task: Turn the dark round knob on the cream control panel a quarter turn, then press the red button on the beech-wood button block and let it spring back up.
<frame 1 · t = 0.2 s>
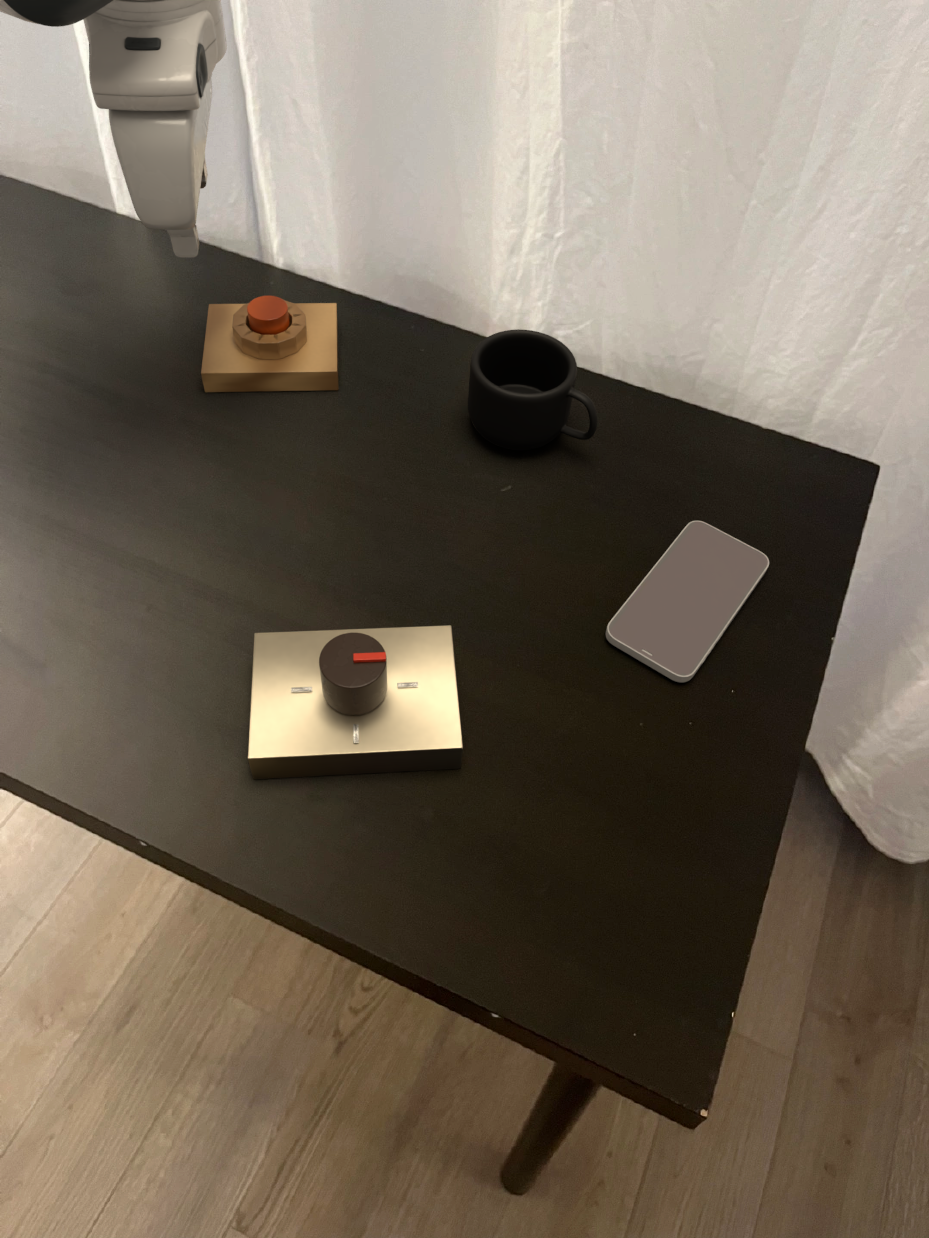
hand: (192, 217, 74), 16 cm above the table, tool pointing down, fingers open, 8 cm apart
red button: (268, 315, 86), point 4 cm above the table, slide at 0.1 cm
dial knob: (353, 672, 64), point 5 cm above the table, hinge at 0.0°
dial panel: (356, 710, 68), on the table
mug: (530, 433, 86), on the table
smartphone: (687, 602, 75), on the table
button block: (273, 356, 90), on the table
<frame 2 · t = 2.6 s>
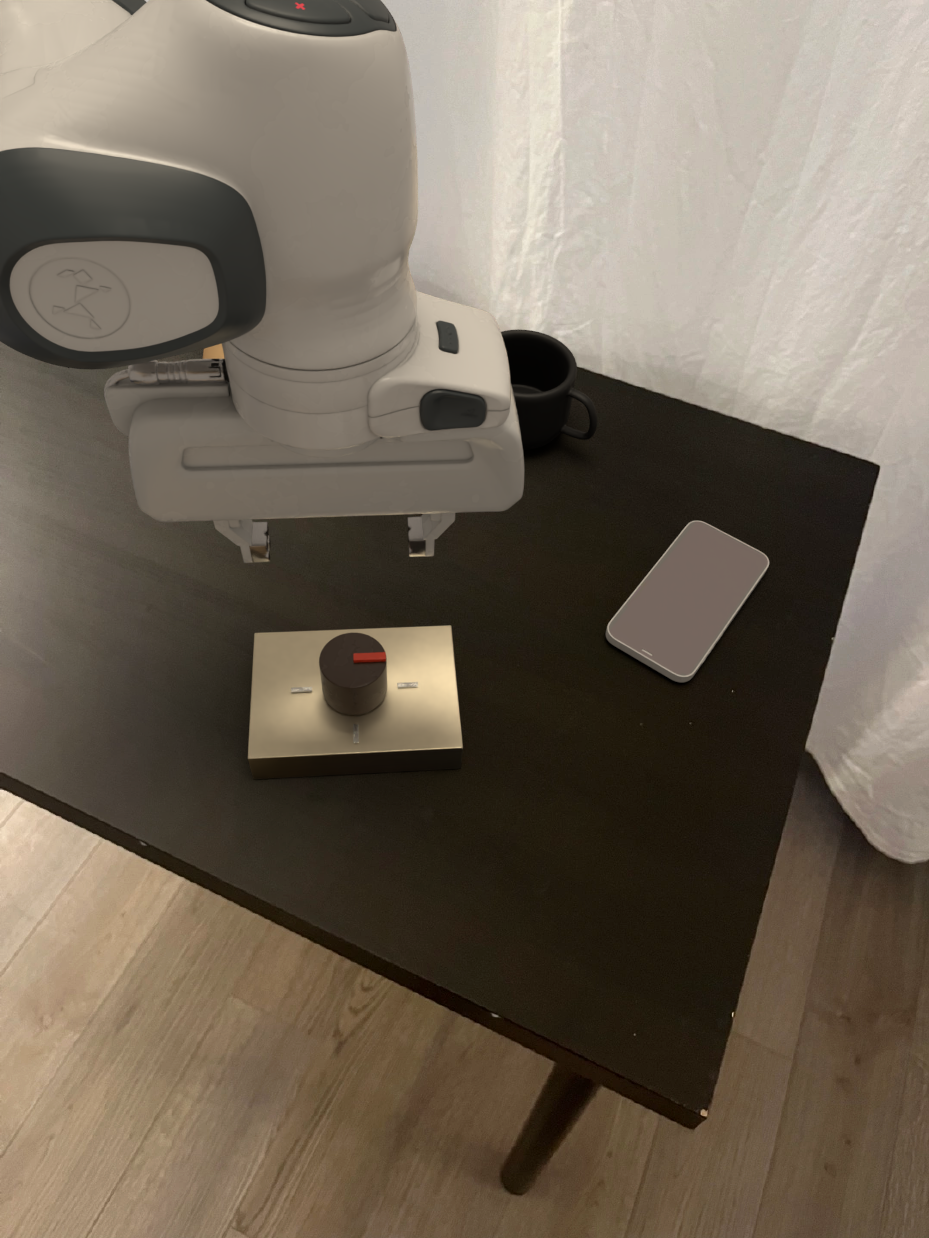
hand: (339, 551, 56), 16 cm above the table, tool pointing down, fingers open, 8 cm apart
nothing on the table moved.
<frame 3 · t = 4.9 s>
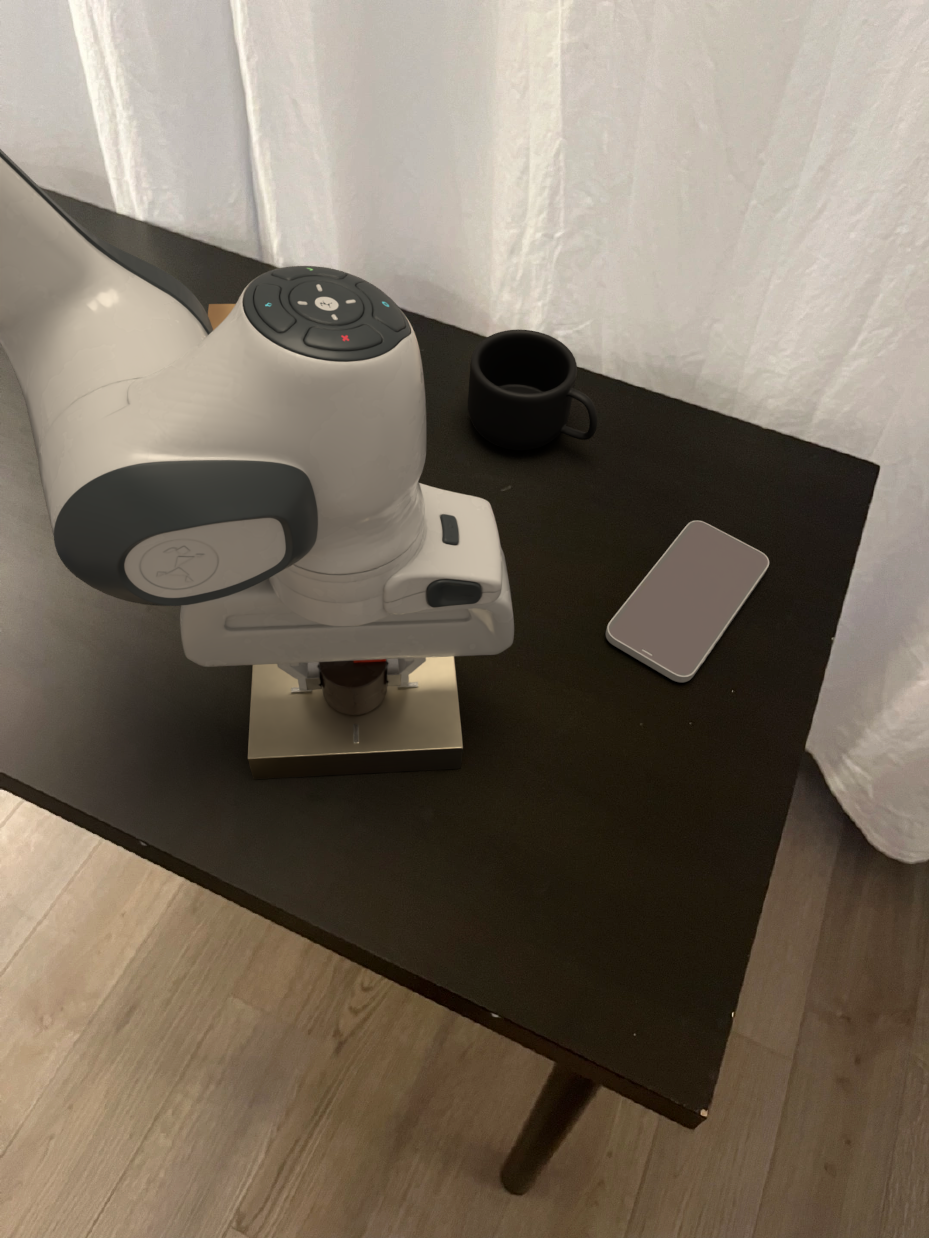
hand: (354, 679, 64), 4 cm above the table, tool pointing down, fingers closed on dial knob, 4 cm apart
dial knob: (353, 672, 64), point 5 cm above the table, hinge at 0.2°, touching gripper
everything else where it was.
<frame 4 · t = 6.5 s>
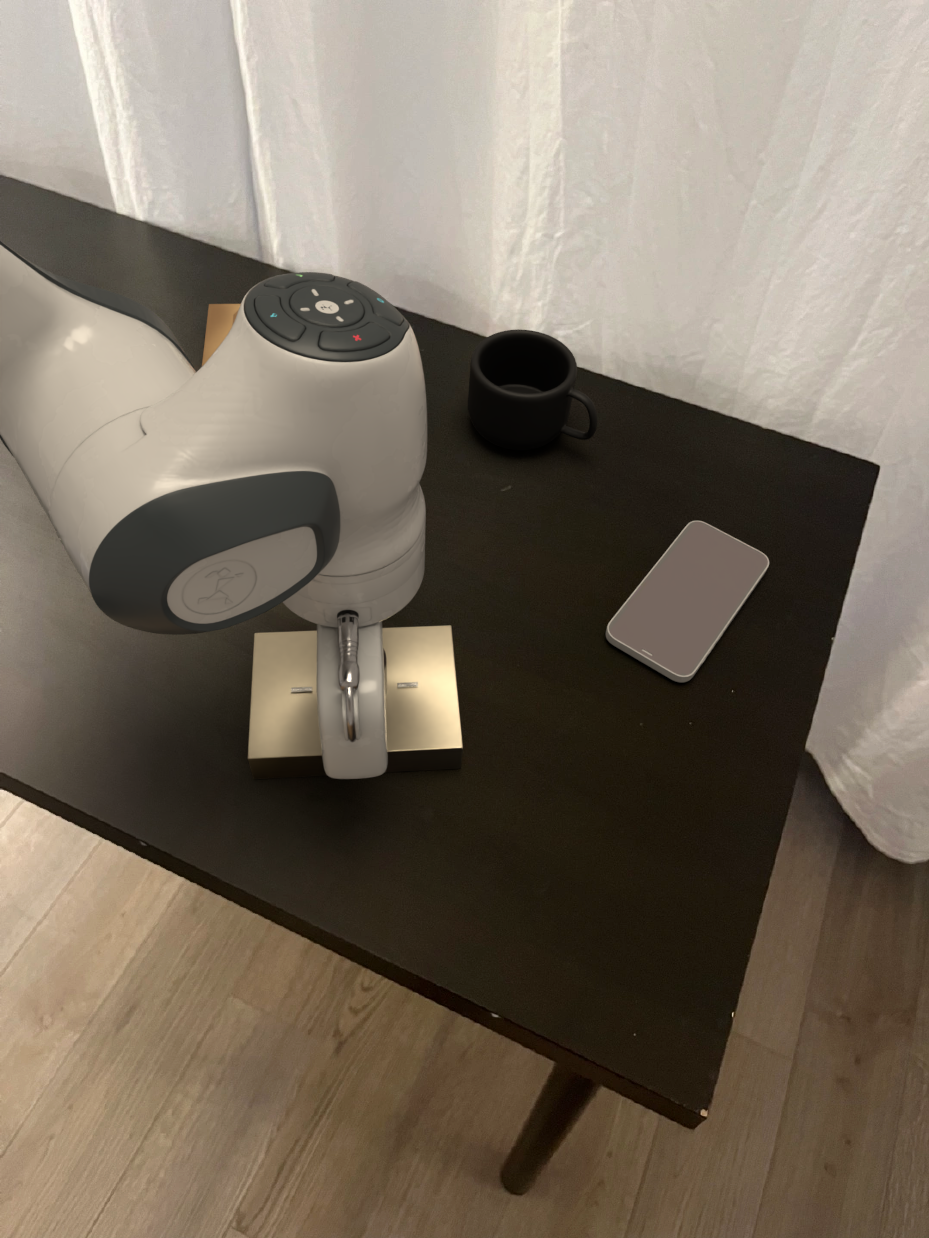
hand: (357, 680, 65), 4 cm above the table, tool pointing down, fingers closed on dial knob, 4 cm apart
dial knob: (353, 672, 64), point 5 cm above the table, hinge at 90.6°, touching gripper
everything else where it was.
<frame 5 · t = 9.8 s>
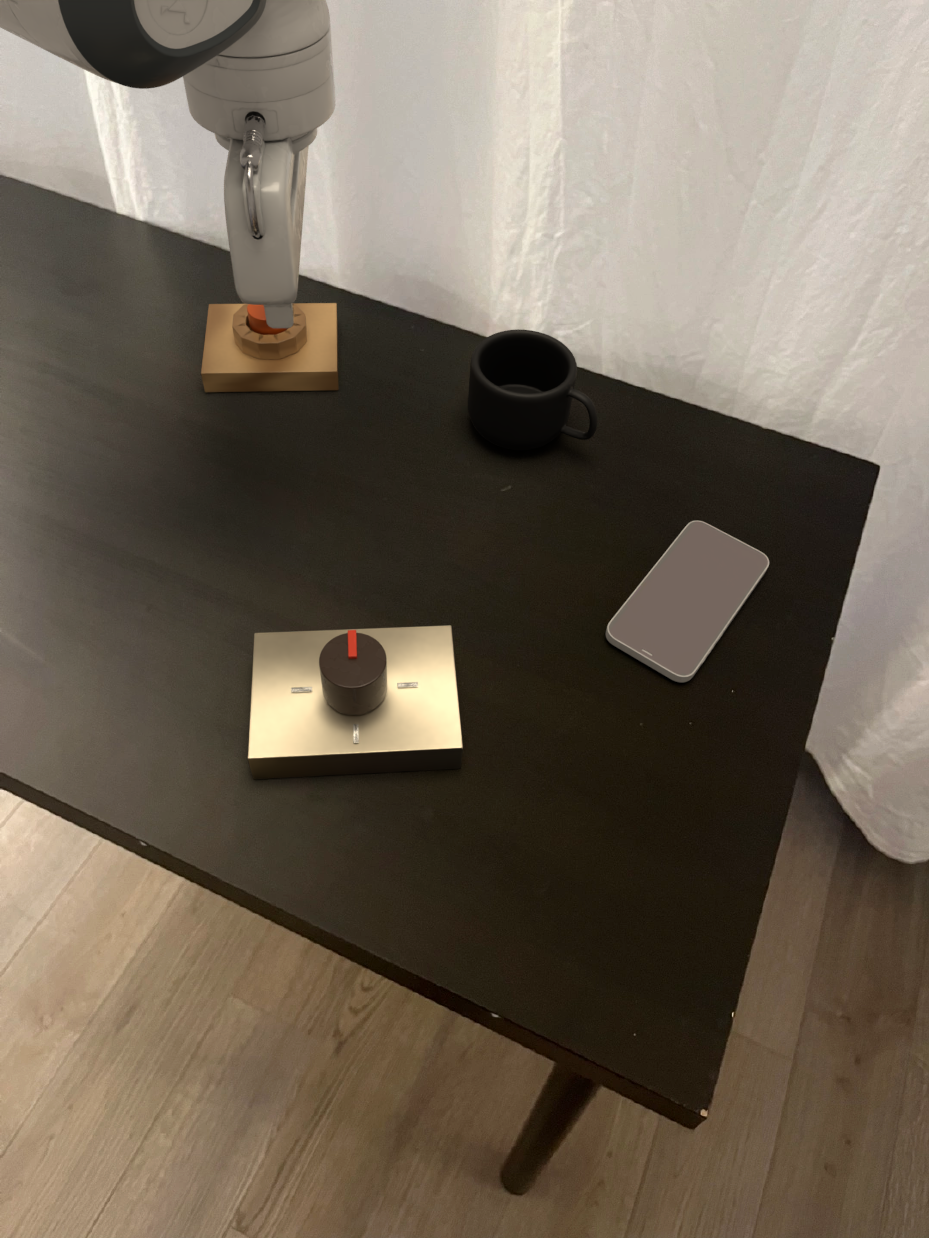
hand: (285, 280, 68), 18 cm above the table, tool pointing down, fingers open, 8 cm apart
dial knob: (353, 672, 64), point 5 cm above the table, hinge at 90.3°
everything else where it was.
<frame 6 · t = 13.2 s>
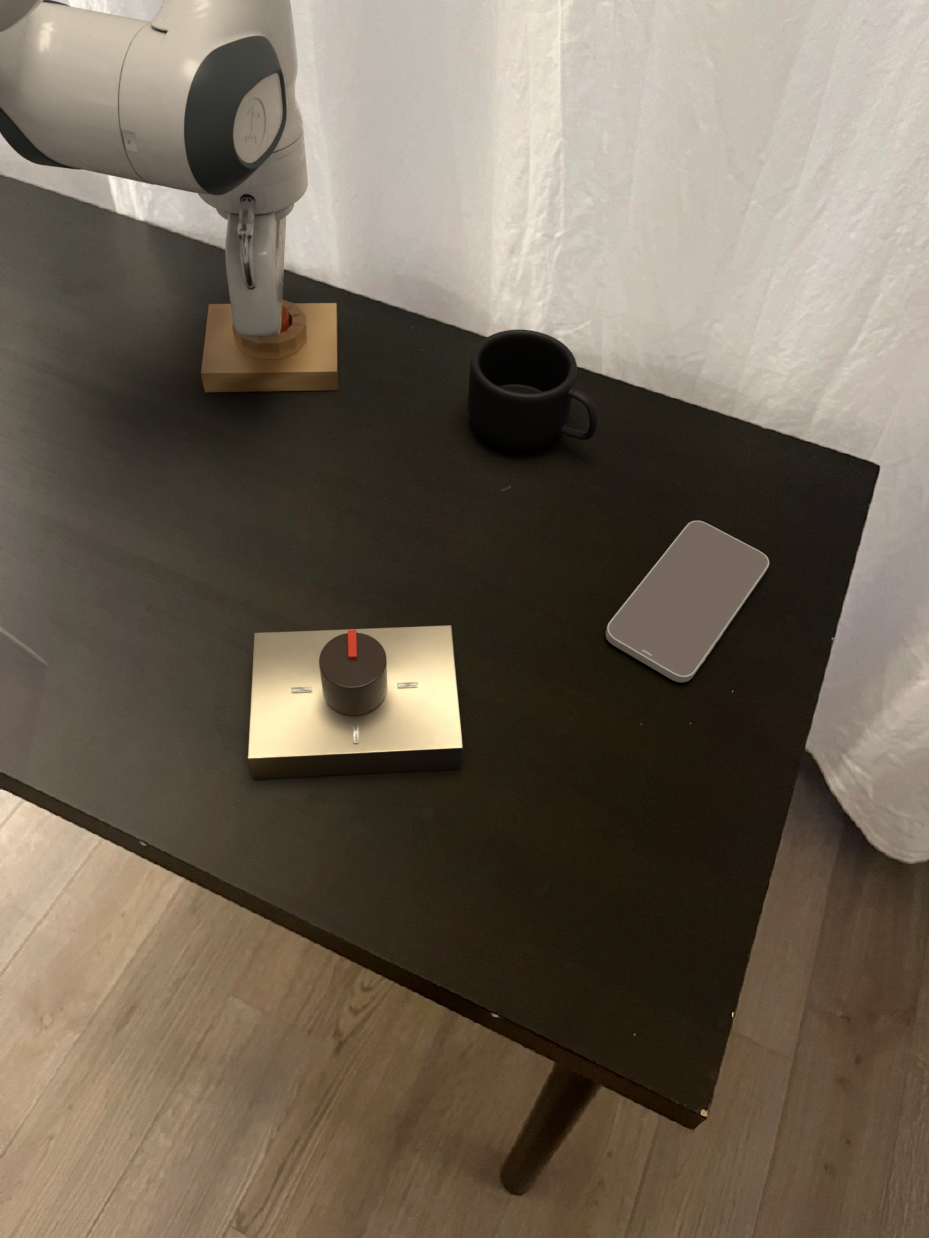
hand: (269, 314, 86), 5 cm above the table, tool pointing down, fingers closed, pressing on red button
red button: (269, 322, 87), point 4 cm above the table, slide at -0.6 cm, touching gripper
everything else where it was.
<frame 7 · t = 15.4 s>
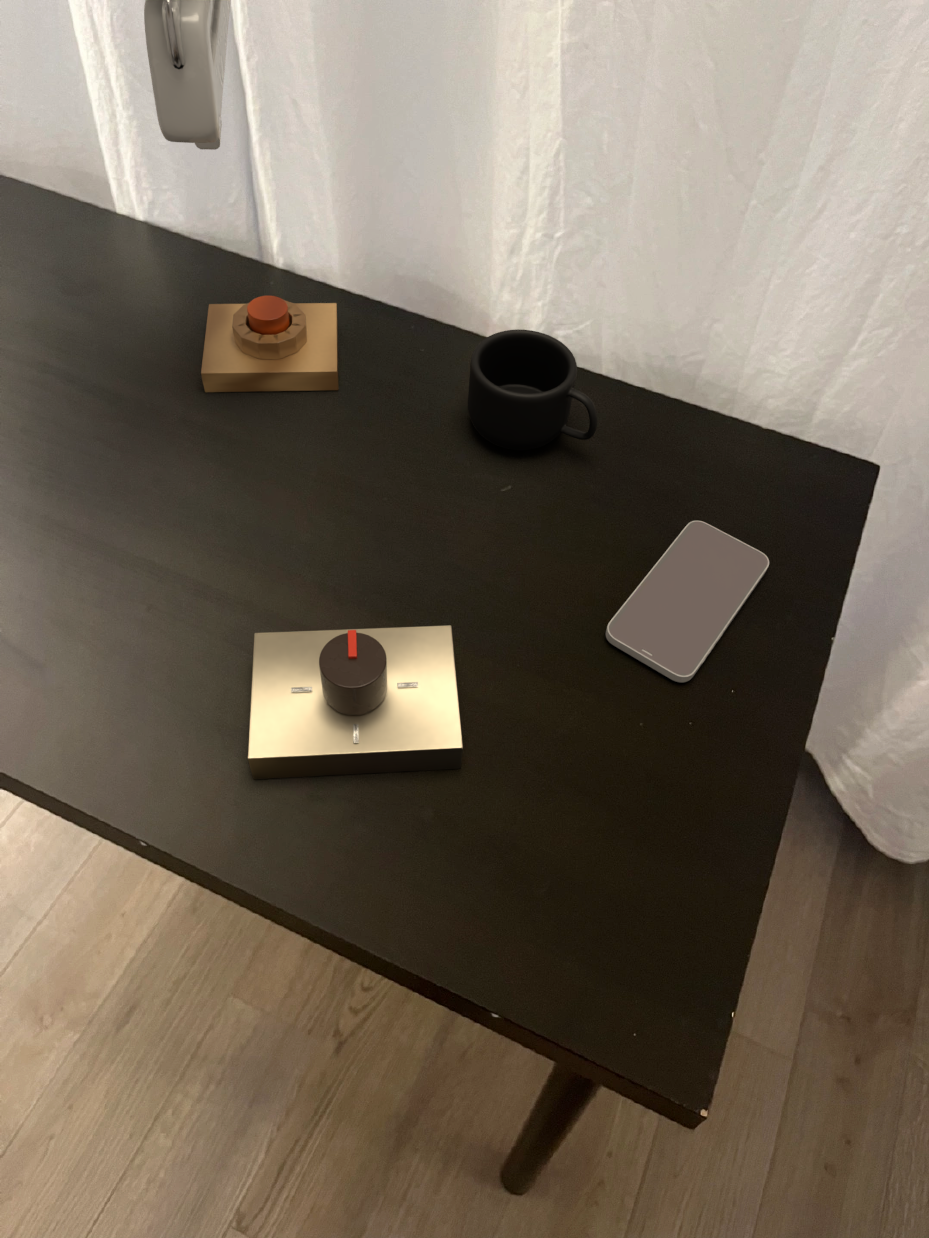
hand: (209, 139, 70), 22 cm above the table, tool pointing down, fingers closed
red button: (268, 315, 86), point 4 cm above the table, slide at 0.1 cm
everything else where it was.
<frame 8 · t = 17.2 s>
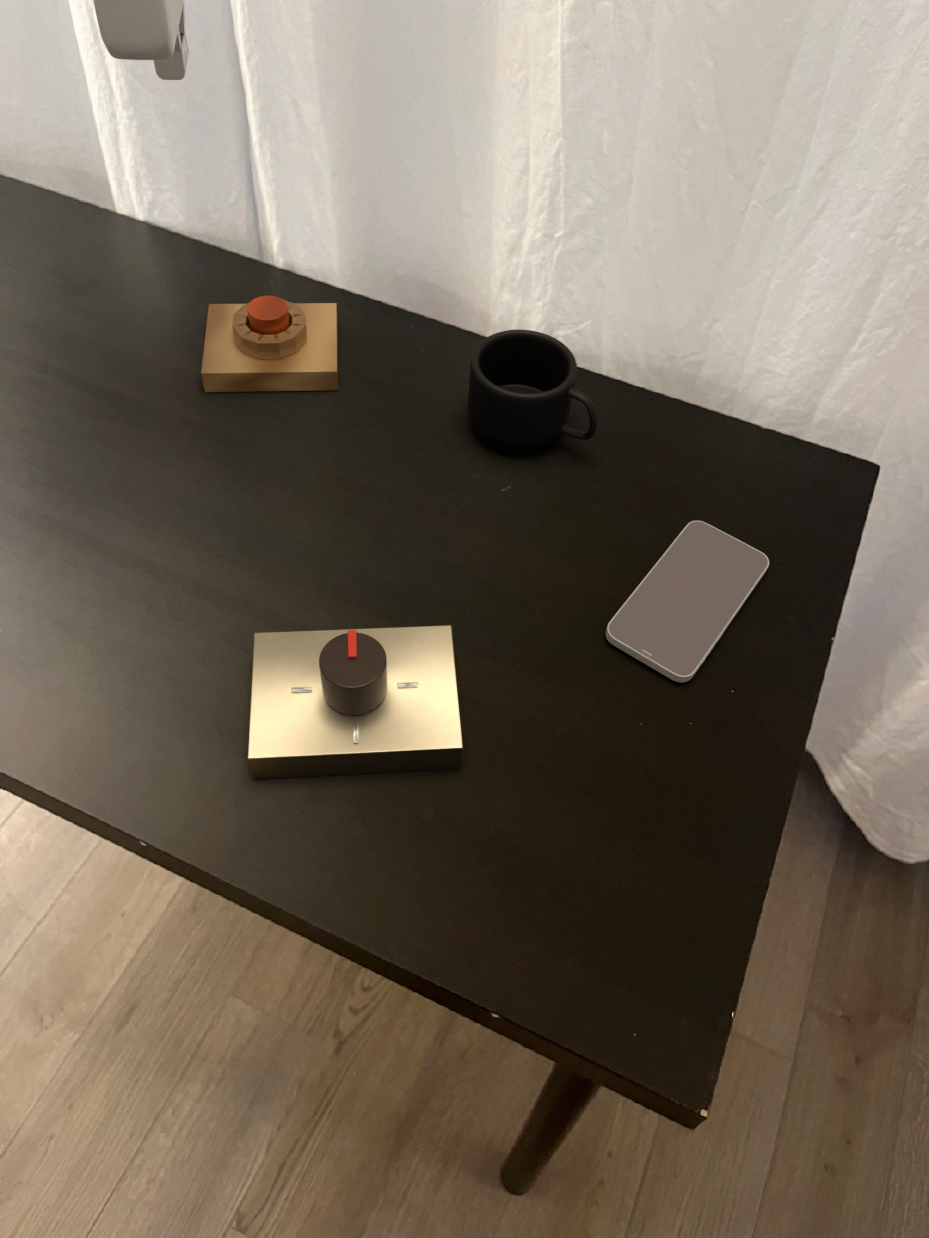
hand: (174, 69, 61), 29 cm above the table, tool pointing down, fingers closed
nothing on the table moved.
at the end: dial knob at +90° (first picture: +0°); red button pushed in 1.1 cm at the most during the clip, back to where it started at the end; red button slide at 0.1 cm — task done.
